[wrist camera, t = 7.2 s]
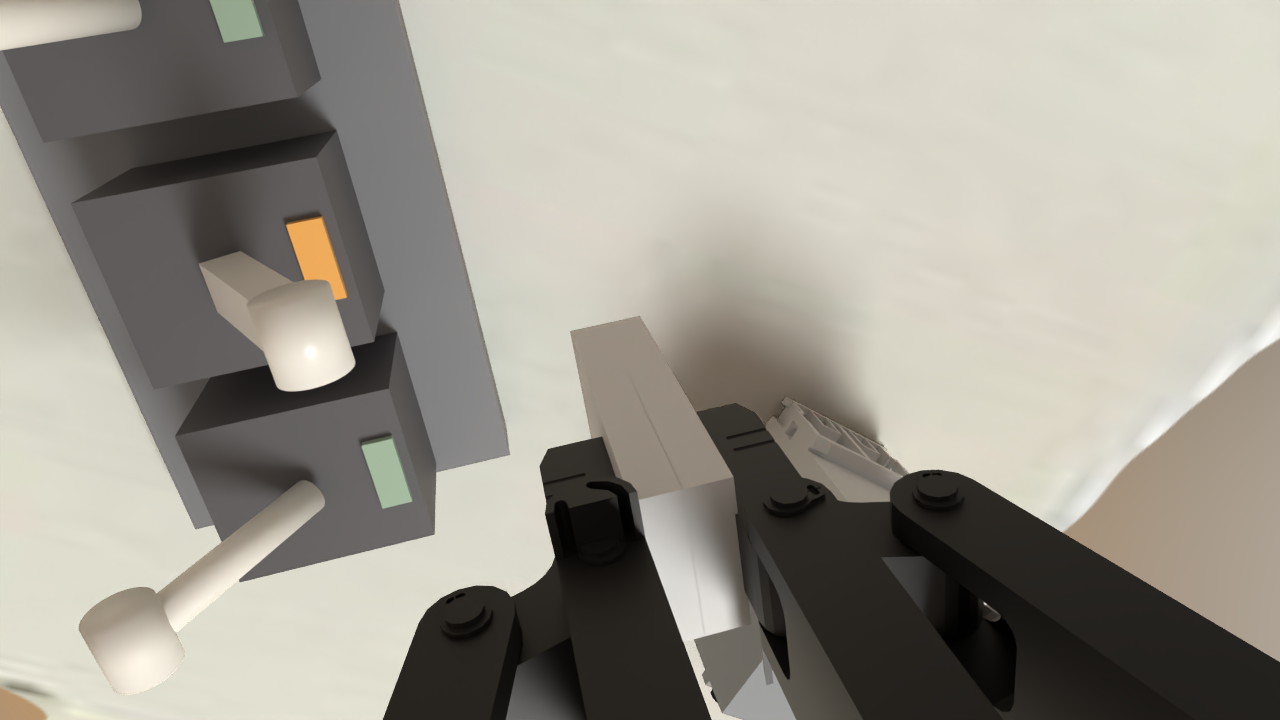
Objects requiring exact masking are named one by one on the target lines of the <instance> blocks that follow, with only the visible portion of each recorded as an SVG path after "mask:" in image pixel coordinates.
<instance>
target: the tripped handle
mask: <svg viewBox="0 0 1280 720" xmlns="http://www.w3.org/2000/svg"><path fill="white" fill-rule="evenodd" d="M199 266H200V269H201V271H202V274H203V276H204V279H205V281H206V284H207V287H208V289H209V292H210V294H211V297H212V299H213V302H214V304H215V307H216V309H217V312H218V313H219V314H220V315H221V316H223V317H224V318H225V319H226V320H227V321H228V322H230V323H231V324H232V325H233V326H234V327H235V328H237V329H238V330H239V331H240V332H241V333H243V334H244V335H245V336H246V337H247V338H248V339H250V340H251V341H252V342H253V343H254V344H255V345H257V346H258V347H259V348H260V349H261V350H262V351H264V354H265V357H266V359H267V362H268V365H269V367H270V370H271V373H272V375H273V378H274V381H275V383H276V386H277V387H278V388H279V389H281V390H284V391H303V390H309V389H313V388H317V387H320V386H324V385H326V384H329V383H331V382H334V381H336V380H338V379H340V378H341V377H343V376H345V375H346V374H348V373H349V372H350V371H351V370H352V369H353V368H354V366H355V359H354V356H353V353H352V350H351V347H350V344H349V341H348V338H347V335H346V332H345V329H344V326H343V322H342V319H341V316H340V313H339V310H338V307H337V304H336V301H335V298H334V295H333V292H332V289H331V286H330V283H329V282H328V281H325V280H304V281H298V282H292V281H291V280H289V279H287V278H285V277H284V276H282V275H280V274H279V273H277V272H275V271H274V270H272V269H270V268H268V267H267V266H265V265H263V264H262V263H260V262H258V261H257V260H255V259H253V258H251V257H250V256H248V255H246V254H245V253H243V252H241V251H238V252H235V253H232V254H229V255H225V256H222V257H219V258H215V259H212V260H209V261H206V262H202V263H199Z"/></svg>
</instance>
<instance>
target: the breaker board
mask: <svg viewBox="0 0 1280 720" xmlns="http://www.w3.org/2000/svg"><path fill="white" fill-rule="evenodd" d="M0 105H1V108H2V110H3V112H4V114H5V116H6V119H7V121H8V123H9V125H10V127H11V129H12V132H13V134H14V136H15V138H16V140H17V142H18V145H19V147H20V149H21V151H22V153H23V155H24V158H25V160H26V162H27V164H28V166H29V169H30V171H31V173H32V175H33V177H34V179H35V182H36V184H37V186H38V188H39V190H40V192H41V195H42V197H43V199H44V201H45V203H46V205H47V208H48V210H49V212H50V214H51V216H52V219H53V221H54V223H55V225H56V227H57V229H58V232H59V234H60V236H61V238H62V240H63V242H64V245H65V247H66V249H67V251H68V253H69V255H70V258H71V260H72V262H73V264H74V266H75V269H76V271H77V273H78V275H79V277H80V279H81V282H82V284H83V286H84V288H85V290H86V292H87V295H88V297H89V299H90V301H91V303H92V305H93V308H94V310H95V312H96V314H97V316H98V319H99V321H100V323H101V325H102V327H103V329H104V332H105V334H106V336H107V338H108V340H109V342H110V345H111V347H112V349H113V351H114V353H115V356H116V358H117V360H118V362H119V364H120V366H121V369H122V371H123V373H124V375H125V377H126V379H127V382H128V384H129V386H130V388H131V390H132V392H133V395H134V397H135V399H136V401H137V403H138V406H139V408H140V410H141V412H142V414H143V416H144V419H145V421H146V423H147V425H148V427H149V429H150V432H151V434H152V436H153V438H154V440H155V442H156V445H157V447H158V449H159V451H160V453H161V456H162V458H163V460H164V462H165V464H166V466H167V469H168V471H169V473H170V475H171V477H172V479H173V482H174V484H175V486H176V488H177V490H178V492H179V495H180V497H181V499H182V501H183V503H184V506H185V508H186V510H187V512H188V514H189V516H190V519H191V521H192V523H193V525H194V527H195V529H199V528H203V527H207V526H211V525H215V528H216V530H217V532H218V534H219V537H220V539H221V541H222V542H221V543H220V544H219V545H218V546H216V547H215V548H214V549H213V550H211V551H210V552H209V553H207V554H206V555H205V556H204V557H202V558H201V559H200V560H199V561H197V562H196V563H195V564H194V565H192V566H191V567H190V568H189V569H187V570H186V571H185V572H183V573H182V574H181V575H180V576H178V577H177V578H176V579H175V580H173V581H172V582H171V583H170V584H168V585H167V586H166V587H164V588H163V589H162V590H161V591H159V592H158V593H157V594H156V593H155V591H154V590H153V589H151V588H147V587H136V588H131V589H127V590H124V591H121V592H118V593H116V594H114V595H111V596H109V597H108V598H106V599H104V600H102V601H101V602H99V603H98V604H96V605H95V606H94V607H93V608H91V609H90V610H89V611H88V612H87V613H86V614H85V615H84V617H83V618H82V620H81V621H80V624H79V631H80V633H81V635H82V637H83V638H84V640H85V642H86V644H87V645H88V647H89V649H90V651H91V653H92V654H93V656H94V658H95V660H96V661H97V663H98V665H99V667H100V668H101V670H102V672H103V674H104V675H105V677H106V679H107V681H108V682H109V684H110V686H111V688H112V689H113V691H114V692H116V693H117V694H121V695H131V694H136V693H140V692H143V691H146V690H148V689H150V688H153V687H154V686H156V685H158V684H160V683H161V682H163V681H164V680H166V679H167V678H168V677H170V676H171V675H172V674H173V673H174V672H175V671H176V670H177V669H178V667H179V666H180V665H181V663H182V661H183V659H184V656H185V650H184V648H183V646H182V644H181V642H180V640H179V638H178V636H177V634H176V633H177V632H178V631H179V630H180V629H182V628H183V627H184V626H185V625H186V624H187V623H189V622H190V621H191V620H192V619H193V618H194V617H196V616H197V615H198V614H199V613H200V612H201V611H203V610H204V609H205V608H206V607H207V606H208V605H210V604H211V603H212V602H213V601H214V600H216V599H217V598H218V597H219V596H220V595H221V594H223V593H224V592H225V591H226V590H227V589H228V588H230V587H231V586H232V585H233V584H234V583H235V582H237V581H238V580H239V581H240V582H243V581H247V580H251V579H255V578H259V577H263V576H267V575H272V574H276V573H280V572H284V571H288V570H292V569H296V568H300V567H304V566H308V565H312V564H316V563H320V562H324V561H329V560H333V559H337V558H341V557H345V556H349V555H353V554H357V553H361V552H365V551H369V550H373V549H377V548H382V547H386V546H390V545H394V544H398V543H402V542H406V541H410V540H414V539H418V538H422V537H426V536H430V535H434V533H435V495H436V472H440V471H444V470H448V469H452V468H456V467H461V466H465V465H469V464H473V463H478V462H482V461H486V460H490V459H494V458H499V457H503V456H507V455H510V452H509V445H508V437H507V429H506V424H505V420H504V416H503V412H502V408H501V404H500V400H499V396H498V392H497V388H496V384H495V380H494V376H493V372H492V368H491V364H490V361H489V357H488V353H487V349H486V345H485V341H484V337H483V333H482V329H481V325H480V321H479V317H478V313H477V309H476V305H475V301H474V297H473V293H472V289H471V285H470V281H469V277H468V273H467V269H466V265H465V261H464V257H463V253H462V250H461V246H460V242H459V238H458V234H457V230H456V226H455V222H454V218H453V214H452V210H451V206H450V202H449V198H448V194H447V190H446V186H445V182H444V178H443V174H442V170H441V166H440V162H439V158H438V154H437V150H436V146H435V142H434V139H433V135H432V131H431V127H430V123H429V119H428V115H427V111H426V107H425V103H424V99H423V95H422V91H421V87H420V83H419V79H418V75H417V71H416V67H415V63H414V59H413V55H412V51H411V47H410V43H409V39H408V35H407V31H406V28H405V24H404V20H403V16H402V12H401V8H400V4H399V0H0ZM238 251H241V252H243V253H245V254H246V255H248V256H250V257H251V258H253V259H255V260H257V261H258V262H260V263H262V264H263V265H265V266H267V267H268V268H270V269H272V270H274V271H275V272H277V273H279V274H280V275H282V276H284V277H285V278H287V279H289V280H291V281H292V282H298V281H304V280H325V281H328V282H329V283H330V286H331V289H332V292H333V295H334V298H335V301H336V304H337V307H338V310H339V313H340V316H341V319H342V322H343V326H344V329H345V332H346V335H347V338H348V341H349V344H350V347H351V350H352V353H353V356H354V359H355V366H354V368H353V369H352V370H351V371H350V372H349V373H348V374H346V375H345V376H343V377H341V378H340V379H338V380H336V381H334V382H331V383H329V384H326V385H324V386H320V387H317V388H313V389H309V390H303V391H284V390H281V389H279V388H278V387H277V386H276V383H275V381H274V378H273V375H272V373H271V370H270V367H269V365H268V362H267V359H266V357H265V354H264V351H262V350H261V349H260V348H259V347H258V346H257V345H255V344H254V343H253V342H252V341H251V340H250V339H248V338H247V337H246V336H245V335H244V334H243V333H241V332H240V331H239V330H238V329H237V328H235V327H234V326H233V325H232V324H231V323H230V322H228V321H227V320H226V319H225V318H224V317H223V316H221V315H220V314H219V313H218V312H217V309H216V307H215V304H214V302H213V299H212V297H211V294H210V292H209V289H208V287H207V284H206V281H205V279H204V276H203V274H202V271H201V269H200V266H199V263H202V262H206V261H209V260H212V259H215V258H219V257H222V256H225V255H229V254H232V253H235V252H238Z"/></svg>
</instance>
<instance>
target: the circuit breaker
mask: <svg viewBox="0 0 1280 720" xmlns="http://www.w3.org/2000/svg"><path fill="white" fill-rule="evenodd" d="M782 404H783V405H785V406H786V407H785V409H784V410H783V411H782V413H781V414H780V416H779V417H778V418H776V417H774V416H772V417H771V419H770V420H769V421H768V423H767V424H766V426H765V427H766V430H768V431H769V433H770V434H771V435H772V437H773V438H774V441H775V442H777V444H778V445H779V446H780V448H781V449H782V451H783V452H784V453H785V455H786V456H787V457H788V459H789V460H790V462H791V463H792V464H793V466H794V467H795V469H796V470H797V471H798V473H799V474H800V475H801V477H802V478H808V479H811V480H813V481H816V482H819V483H822V484H823V485H824V486H825V487H826V488H828V489H829V490H830V491H831V492H832V493H833V494H834V496H835V497H836V498H837V500H839V501H844V502H861V503H862V502H889V501H890V490H891V488H892V486H893V485H894V483H895V482H896V481H897V480H899V479H900V478H902V477H903V476H905V475H907V474H909V473H908V472H907V471H906V470H905V468H904V467H903V466H902V465H901V464H900V463H899V462H898V461H897V460H895V459H894V458H892V457H891V456H890V455H889V454H888V453H887V452H886V451H887V449H886V448H885V447H883V446H881V445H879V444H878V443H876V442H874V441H872V440H870V439H868V438H866V437H864V436H862V435H860V434H858V433H856V432H854V431H852V430H850V429H848V428H846V427H845V426H843V425H841V424H839V423H837V422H835V421H833V420H831V419H829V418H827V417H825V416H823V415H821V414H819V413H817V412H815V411H813V410H812V409H810V408H808V407H806V406H804V405H802V404H800V403H798V402H796V401H794V400H792V399H790V398H788V397H785V398H784V400H783V401H782ZM748 601H749V599H748ZM984 605H986V606H987V607H988V608H990V609H991V610H992V611H994V612H996V611H995V610H994V609H993V608H991V607H990V606H989V605H987V604H986V603H985V602H984ZM749 610H750V618H751V624H749V625H745V626H742V627H738V628H734V629H730V630H727V631H723V632H719V633H716V634H712V635H708V636H704V637H701V638H697V639H694V641H695V643H696V646H697V649H698V651H699V654H700V657H701V659H702V662H703V665H704V667H705V671H704V672H703V674H702V676H703V679H704V682H705V685H707V686H709V687H712V691H711V695H712V697H713V699H714V700H715V701H716V702H717V703H718V705H719V707H720V709H721V711H722V713H724V714H727V715H730V716H733V717H736V718H739V719H742V720H796V718H795V716H794V714H793V712H792V710H791V708H790V706H789V703H788V701H787V699H786V697H785V695H784V693H783V691H782V689H781V686H780V684H779V682H778V680H777V678H776V676H775V674H774V672H773V670H772V674H773V684H769V685H766V680H765V674H764V666H763V658H762V649H761V640H760V632H759V623H758V617H757V615H756V613H755V611H754V609H753V607H752V605H751V603H750V601H749ZM996 613H998V612H996ZM998 614H999V613H998ZM999 615H1000V614H999Z"/></svg>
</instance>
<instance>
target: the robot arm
mask: <svg viewBox="0 0 1280 720" xmlns="http://www.w3.org/2000/svg"><path fill="white" fill-rule="evenodd" d="M570 333H571V338H572V343H573V348H574V353H575V358H576V363H577V368H578V373H579V378H580V383H581V388H582V393H583V398H584V403H585V408H586V413H587V418H588V423H589V428H590V433H591V438H592V439H589V440H585V441H580V442H576V443H572V444H568V445H563V446H559V447H555V448H551V449H548V450H547V452H546V454H545V456H544V458H543V460H542V462H541V464H540V471H541V477H542V482H543V487H544V492H545V497H546V503H547V504H546V511H545V516H546V520H547V524H548V529H549V533H550V537H551V541H552V545H553V550H554V554H555V558H554V561H553V564H552V566H551V568H550V569H549V570H548V572H547V573H546V574H545V575H544V576H543V577H542V578H541V579H540V580H539V581H538V582H536V583H535V584H534V585H532V586H530V587H529V588H527V589H526V590H524V591H522V592H520V593H518V594H516V595H514V596H512V597H510V596H509V594H508V593H507V592H506V591H504V590H501V589H499V588H496V587H494V586H472V587H468V588H464V589H459V590H457V591H455V592H453V593H450V594H448V595H446V596H444V597H442V598H441V599H439V600H438V601H437V602H436V603H435V604H433V605H432V606H431V607H430V608H429V609H428V610H427V611H426V612H425V614H424V616H423V617H422V619H421V620H420V622H419V624H418V627H417V629H416V632H415V635H414V637H413V640H412V643H411V645H410V648H409V651H408V653H407V656H406V659H405V662H404V664H403V667H402V670H401V672H400V675H399V678H398V680H397V683H396V686H395V688H394V691H393V694H392V696H391V699H390V702H389V705H388V707H387V710H386V713H385V715H384V718H383V720H711V717H710V714H709V712H708V709H707V706H706V703H705V701H704V698H703V695H702V692H701V690H700V687H699V684H698V681H697V679H696V676H695V673H694V670H693V668H692V665H691V662H690V659H689V657H688V654H687V651H686V648H685V646H684V643H683V642H686V641H689V640H693V639H697V638H701V637H704V636H708V635H712V634H716V633H719V632H723V631H727V630H730V629H734V628H738V627H742V626H745V625H749V624H751V618H750V610H749V601H750V603H751V605H752V607H753V609H754V611H755V613H756V615H757V617H758V623H759V632H760V640H761V649H762V658H763V666H764V674H765V680H766V685H769V684H773V674H772V670H773V672H774V674H775V676H776V678H777V680H778V682H779V684H780V686H781V689H782V691H783V693H784V695H785V697H786V699H787V701H788V703H789V706H790V708H791V710H792V712H793V714H794V716H795V718H796V720H1280V662H1279V661H1277V660H1275V659H1273V658H1272V657H1270V656H1269V655H1267V654H1265V653H1263V652H1261V651H1260V650H1258V649H1257V648H1255V647H1253V646H1252V645H1250V644H1248V643H1247V642H1245V641H1243V640H1242V639H1240V638H1238V637H1236V636H1235V635H1233V634H1231V633H1230V632H1228V631H1226V630H1225V629H1223V628H1222V627H1220V626H1218V625H1216V624H1215V623H1213V622H1211V621H1210V620H1208V619H1206V618H1204V617H1203V616H1201V615H1200V614H1198V613H1196V612H1195V611H1193V610H1191V609H1189V608H1188V607H1186V606H1185V605H1183V604H1181V603H1180V602H1178V601H1176V600H1175V599H1173V598H1171V597H1169V596H1168V595H1166V594H1164V593H1163V592H1161V591H1159V590H1157V589H1156V588H1154V587H1153V586H1151V585H1149V584H1148V583H1146V582H1144V581H1143V580H1141V579H1139V578H1138V577H1136V576H1134V575H1133V574H1131V573H1129V572H1128V571H1126V570H1124V569H1122V568H1121V567H1119V566H1117V565H1115V564H1114V563H1112V562H1111V561H1109V560H1107V559H1106V558H1104V557H1102V556H1101V555H1099V554H1097V553H1095V552H1094V551H1092V550H1091V549H1089V548H1087V547H1086V546H1084V545H1082V544H1080V543H1079V542H1077V541H1075V540H1074V539H1072V538H1070V537H1069V536H1067V535H1065V534H1064V533H1062V532H1060V531H1059V530H1057V529H1055V528H1054V527H1052V526H1050V525H1049V524H1047V523H1045V522H1044V521H1042V520H1040V519H1039V518H1037V517H1035V516H1033V515H1032V514H1030V513H1028V512H1027V511H1025V510H1023V509H1022V508H1020V507H1018V506H1017V505H1015V504H1013V503H1012V502H1010V501H1008V500H1007V499H1005V498H1003V497H1002V496H1000V495H998V494H997V493H995V492H993V491H992V490H990V489H988V488H986V487H985V486H983V485H981V484H980V483H978V482H976V481H975V480H973V479H971V478H968V477H966V476H964V475H961V474H959V473H955V472H949V471H943V470H923V471H918V472H915V473H911V474H907V475H905V476H903V477H902V478H900V479H899V480H897V481H896V482H895V483H894V485H893V486H892V488H891V490H890V501H889V502H862V503H861V502H844V501H839V500H837V498H836V497H835V496H834V494H833V493H832V492H831V491H830V490H829V489H828V488H826V487H825V486H824V485H823V484H822V483H819V482H816V481H813V480H811V479H808V478H802V477H801V475H800V474H799V473H798V471H797V470H796V469H795V467H794V466H793V464H792V463H791V462H790V460H789V459H788V457H787V456H786V455H785V453H784V452H783V451H782V449H781V448H780V446H779V445H778V444H777V442H775V441H774V438H773V437H772V435H771V434H770V433H769V431H768V430H766V427H765V426H764V424H763V423H762V421H761V420H760V419H759V417H758V416H757V414H756V413H754V412H752V411H750V410H748V409H746V408H744V407H742V406H740V405H739V404H737V403H734V404H730V405H725V406H721V407H717V408H712V409H708V410H704V411H700V412H695V410H694V408H693V406H692V405H691V403H690V401H689V400H688V398H687V396H686V394H685V393H684V391H683V389H682V388H681V386H680V384H679V382H678V381H677V379H676V377H675V376H674V374H673V372H672V370H671V369H670V367H669V365H668V364H667V362H666V360H665V358H664V357H663V355H662V353H661V352H660V350H659V348H658V346H657V345H656V343H655V341H654V340H653V338H652V336H651V334H650V333H649V331H648V329H647V328H646V326H645V324H644V322H643V321H642V319H641V317H640V316H638V317H633V318H629V319H624V320H619V321H615V322H610V323H606V324H601V325H596V326H592V327H587V328H583V329H578V330H574V331H570ZM748 599H749V601H748ZM984 602H985V603H986V604H987V605H989V606H990V607H991V608H993V609H994V610H995V611H996V612H998V613H999V614H1000V615H999V614H998V613H996V612H994V611H992V610H991V609H990V608H988V607H987V606H986V605H984Z"/></svg>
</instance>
